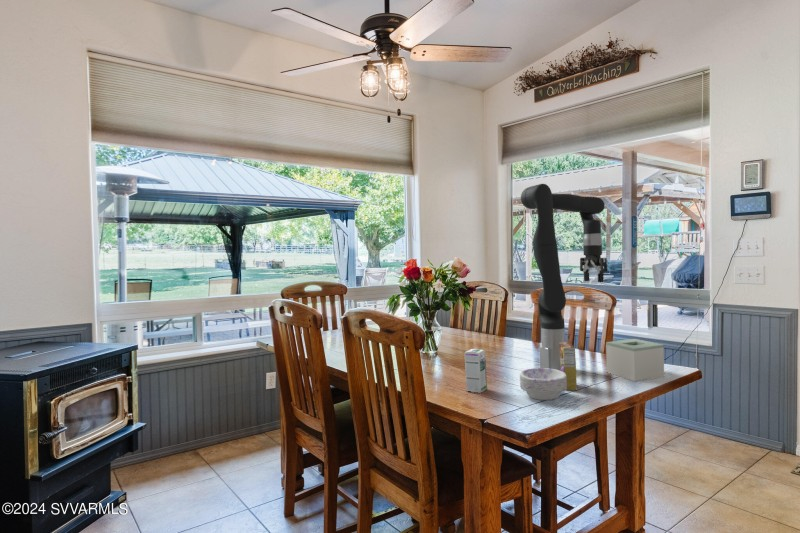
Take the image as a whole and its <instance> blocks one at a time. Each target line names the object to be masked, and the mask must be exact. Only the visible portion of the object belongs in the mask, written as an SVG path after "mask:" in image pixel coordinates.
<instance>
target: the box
mask: <svg viewBox="0 0 800 533" xmlns="http://www.w3.org/2000/svg"><path fill="white" fill-rule="evenodd" d="M664 345H665V344H663V343H662V344H661V343H656V342H653V341H652V342H651V341H648V340H642V339H638V338H628V339H620V340H613V341H606V342H605V351H606V352H605V354H606V355H605V356H606V373H607V372H608V373H607V374H610V373H611V374H610V375H613V374H614V376H616V375H617V376H616V377H620V378H622V379H625V380H626V379H627V380H629V381H632V382H638V381H646V380H652V379H657V378H663V377H665V357H664V356H665V349H664Z"/></svg>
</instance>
